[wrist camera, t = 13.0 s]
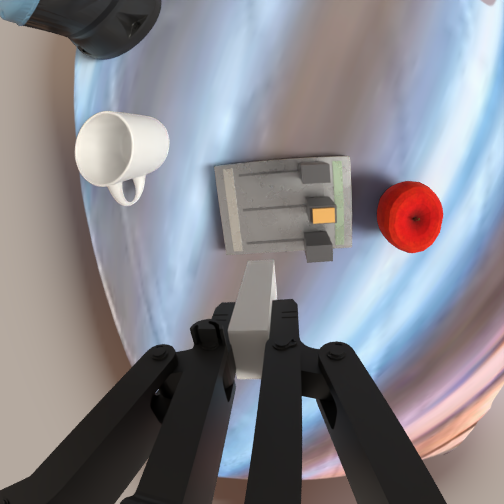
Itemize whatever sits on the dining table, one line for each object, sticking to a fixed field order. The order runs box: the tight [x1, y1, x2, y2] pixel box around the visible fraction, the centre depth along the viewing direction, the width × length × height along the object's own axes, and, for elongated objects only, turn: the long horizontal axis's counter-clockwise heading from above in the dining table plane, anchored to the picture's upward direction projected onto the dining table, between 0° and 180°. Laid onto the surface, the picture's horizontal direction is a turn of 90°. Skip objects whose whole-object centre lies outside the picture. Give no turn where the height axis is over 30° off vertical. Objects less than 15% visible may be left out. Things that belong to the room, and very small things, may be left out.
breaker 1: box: [299, 161, 331, 184], centre depth 30 cm, size 2×3×5 cm, turn 96°
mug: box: [75, 111, 169, 206], centre depth 31 cm, size 9×12×11 cm
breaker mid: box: [306, 197, 337, 225], centre depth 32 cm, size 2×3×5 cm, turn 96°
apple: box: [377, 181, 443, 253], centre depth 31 cm, size 9×9×8 cm
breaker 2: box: [304, 231, 333, 263], centre depth 34 cm, size 2×3×5 cm, turn 96°
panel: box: [214, 156, 352, 255], centre depth 36 cm, size 12×17×2 cm
